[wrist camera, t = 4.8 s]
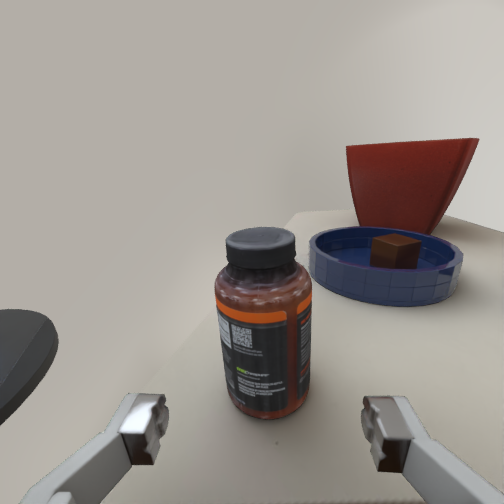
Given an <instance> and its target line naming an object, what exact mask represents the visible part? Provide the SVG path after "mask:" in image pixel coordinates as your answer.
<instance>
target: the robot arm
mask: <svg viewBox="0 0 504 504" xmlns="http://www.w3.org/2000/svg"><path fill="white" fill-rule="evenodd" d="M165 402H166V398H165V394H143V393H128V394H127V395H126V396H125V397H124V399H123V400H122V402H121V404H120V405H119V407H118V409H117V410H116V412H115V414H114V416H113V417H112V419H111V420H110V422H109V424H108V426H107V427H106V429H105V431H104V432H103V433H99V434H97V435H96V436H95V437H94V438H92V439H91V440H90V441H89V442H87V443H86V444H85V445H84V446H83V447H81V448H80V449H79V450H77V451H76V452H75V453H74V454H72V455H71V456H70V457H69V458H67V459H66V460H65V461H64V462H63V463H61V464H60V465H59V466H58V467H56V468H55V469H54V470H52V471H51V472H50V473H49V474H47V475H46V476H45V477H44V478H42V479H41V480H40V481H39V482H37V483H36V484H35V485H34V486H32V487H31V488H30V489H29V490H28V492H27V493H26V494H25V496H24V497H23V499H22V500H21V501H20V503H19V504H100V503H101V501H102V500H103V499H104V498H105V497H106V496H107V495H108V493H109V492H110V491H111V490H112V489H113V488H114V487H115V485H116V484H117V483H118V482H119V481H120V480H121V479H122V477H123V476H124V475H125V474H126V473H127V472H128V471H129V469H130V468H131V467H132V465H154V462H155V460H156V457H157V454H158V452H159V449H160V442H159V439H160V438H161V437H162V436H163V435H164V434H165V432H166V429H167V427H168V421H169V410H168V407H166V406H165V405H164V404H165ZM363 405H364V407H365V408H364V409H363V410H362V411H361V423H362V428H363V432H364V435H365V438H366V439H367V440H368V441H369V442H370V443H371V449H370V452H371V455H372V457H373V460H374V463H375V466H376V468H377V471H378V472H393V473H402V475H403V476H404V477H405V478H406V479H407V481H408V482H409V483H410V484H411V485H412V486H413V487H414V489H415V490H416V491H417V492H418V493H419V494H420V496H421V497H422V498H423V499H424V500H425V501H426V502H427V504H504V494H503V493H502V492H500V491H499V490H498V489H497V488H495V487H494V486H493V485H492V484H490V483H489V482H488V481H487V480H485V479H484V478H483V477H482V476H481V475H479V474H478V473H477V472H476V471H474V470H473V469H472V468H471V467H469V466H468V465H467V464H466V463H464V462H463V461H462V460H461V459H459V458H458V457H457V456H456V455H454V454H453V453H452V452H451V451H449V450H448V449H447V448H446V447H444V446H443V445H442V444H441V443H439V442H438V441H437V440H432V439H431V437H430V436H429V434H428V432H427V431H426V429H425V427H424V426H423V424H422V422H421V421H420V419H419V417H418V416H417V414H416V412H415V411H414V409H413V407H412V406H411V404H410V402H409V400H408V399H407V398H406V397H405V396H364V398H363Z"/></svg>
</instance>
